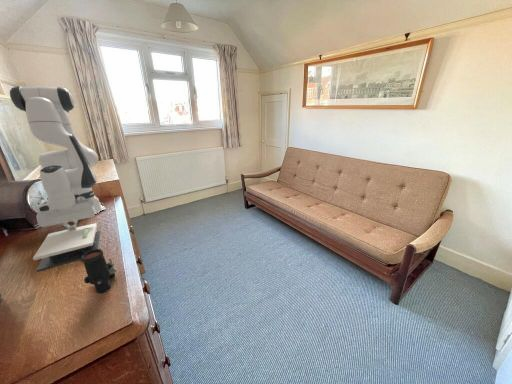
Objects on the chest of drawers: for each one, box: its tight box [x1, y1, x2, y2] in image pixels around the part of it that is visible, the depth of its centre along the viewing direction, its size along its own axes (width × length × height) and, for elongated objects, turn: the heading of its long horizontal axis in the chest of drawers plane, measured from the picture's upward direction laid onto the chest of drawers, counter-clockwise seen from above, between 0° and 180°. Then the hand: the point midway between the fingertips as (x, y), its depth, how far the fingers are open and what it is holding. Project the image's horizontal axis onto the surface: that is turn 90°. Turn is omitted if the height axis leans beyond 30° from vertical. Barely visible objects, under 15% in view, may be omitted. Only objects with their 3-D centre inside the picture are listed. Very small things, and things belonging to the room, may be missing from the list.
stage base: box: [35, 230, 102, 273], centre depth 94 cm, size 23×19×4 cm
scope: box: [81, 248, 117, 294], centre depth 70 cm, size 8×14×10 cm
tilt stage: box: [32, 222, 98, 262], centre depth 93 cm, size 22×18×3 cm
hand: (73, 229), depth 100 cm, fingers closed, pressing on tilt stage
